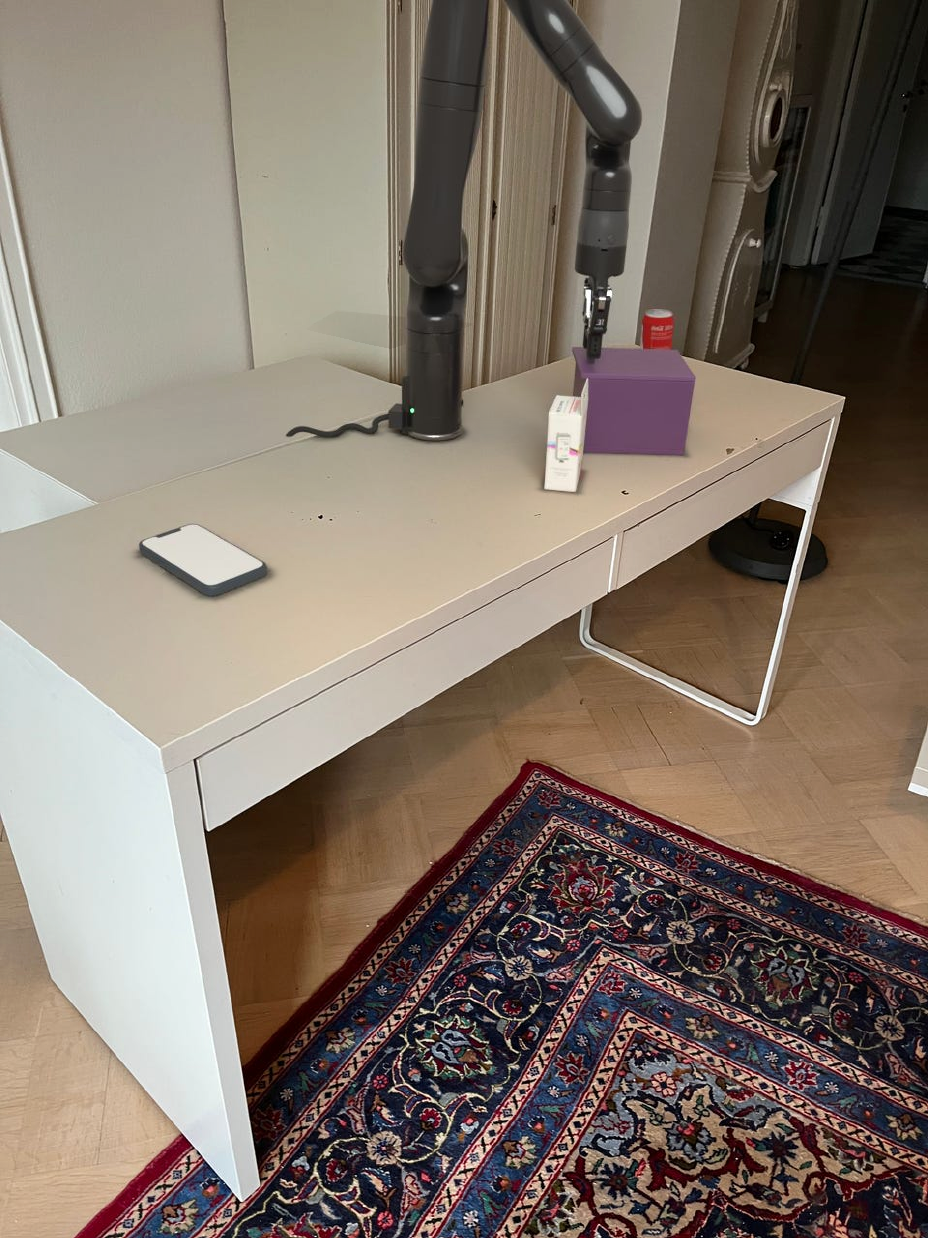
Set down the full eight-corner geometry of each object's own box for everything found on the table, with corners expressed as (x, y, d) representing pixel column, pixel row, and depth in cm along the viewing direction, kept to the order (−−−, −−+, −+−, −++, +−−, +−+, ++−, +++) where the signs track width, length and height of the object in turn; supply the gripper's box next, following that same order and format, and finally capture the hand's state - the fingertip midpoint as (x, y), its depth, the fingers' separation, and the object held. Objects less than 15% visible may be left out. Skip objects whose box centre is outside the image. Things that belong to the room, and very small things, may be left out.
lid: (581, 378, 147) (584, 341, 144) (572, 351, 160) (574, 317, 157) (695, 381, 147) (700, 345, 145) (676, 354, 161) (681, 320, 158)
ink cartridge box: (549, 468, 147) (556, 373, 139) (581, 471, 146) (591, 376, 139) (542, 489, 140) (549, 391, 132) (576, 493, 139) (585, 394, 131)
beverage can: (671, 391, 182) (682, 310, 175) (658, 399, 178) (669, 317, 170) (642, 385, 185) (652, 305, 177) (628, 393, 180) (638, 312, 173)
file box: (579, 452, 153) (586, 378, 147) (570, 420, 166) (576, 351, 160) (683, 455, 154) (695, 382, 147) (666, 422, 167) (676, 354, 161)
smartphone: (272, 576, 115) (196, 531, 125) (271, 564, 115) (195, 520, 124) (209, 601, 110) (135, 553, 119) (208, 589, 109) (133, 541, 118)
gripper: (572, 231, 150) (563, 340, 159) (581, 247, 138) (571, 365, 147) (620, 232, 150) (609, 341, 159) (633, 249, 138) (620, 366, 147)
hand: (591, 352), depth 153 cm, fingers closed on lid, 5 cm apart
